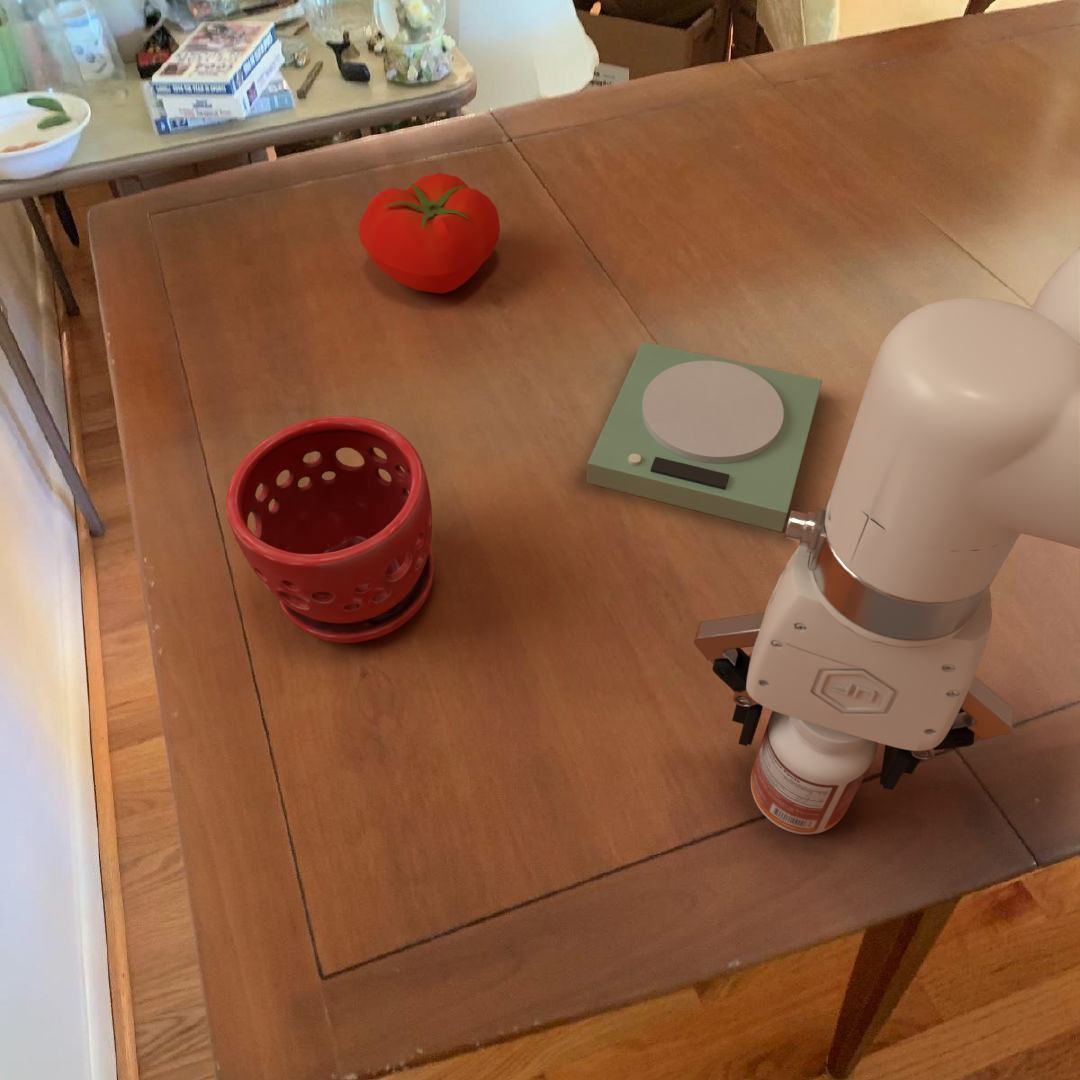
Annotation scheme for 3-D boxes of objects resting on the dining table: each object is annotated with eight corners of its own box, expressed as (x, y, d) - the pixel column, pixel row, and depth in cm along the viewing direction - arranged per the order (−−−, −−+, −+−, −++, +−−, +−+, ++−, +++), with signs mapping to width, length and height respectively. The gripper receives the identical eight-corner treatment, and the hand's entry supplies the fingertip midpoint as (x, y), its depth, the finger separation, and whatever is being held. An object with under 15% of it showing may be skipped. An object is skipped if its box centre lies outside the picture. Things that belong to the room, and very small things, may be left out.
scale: (816, 400, 85) (824, 372, 83) (782, 533, 76) (789, 505, 73) (640, 361, 89) (643, 333, 86) (586, 483, 79) (587, 455, 77)
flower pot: (320, 505, 78) (289, 392, 69) (470, 550, 75) (458, 439, 66) (230, 631, 70) (182, 524, 61) (393, 688, 67) (367, 584, 58)
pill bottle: (821, 737, 64) (862, 645, 56) (864, 823, 61) (915, 739, 52) (733, 759, 64) (761, 669, 55) (771, 848, 60) (807, 766, 51)
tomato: (372, 323, 93) (358, 243, 86) (361, 248, 101) (348, 169, 94) (515, 304, 94) (512, 224, 88) (493, 231, 102) (489, 153, 95)
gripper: (690, 571, 43) (657, 755, 57) (1108, 684, 39) (966, 852, 53) (728, 457, 48) (689, 653, 61) (1107, 548, 44) (975, 735, 58)
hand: (818, 744), depth 57 cm, fingers open, 7 cm apart
